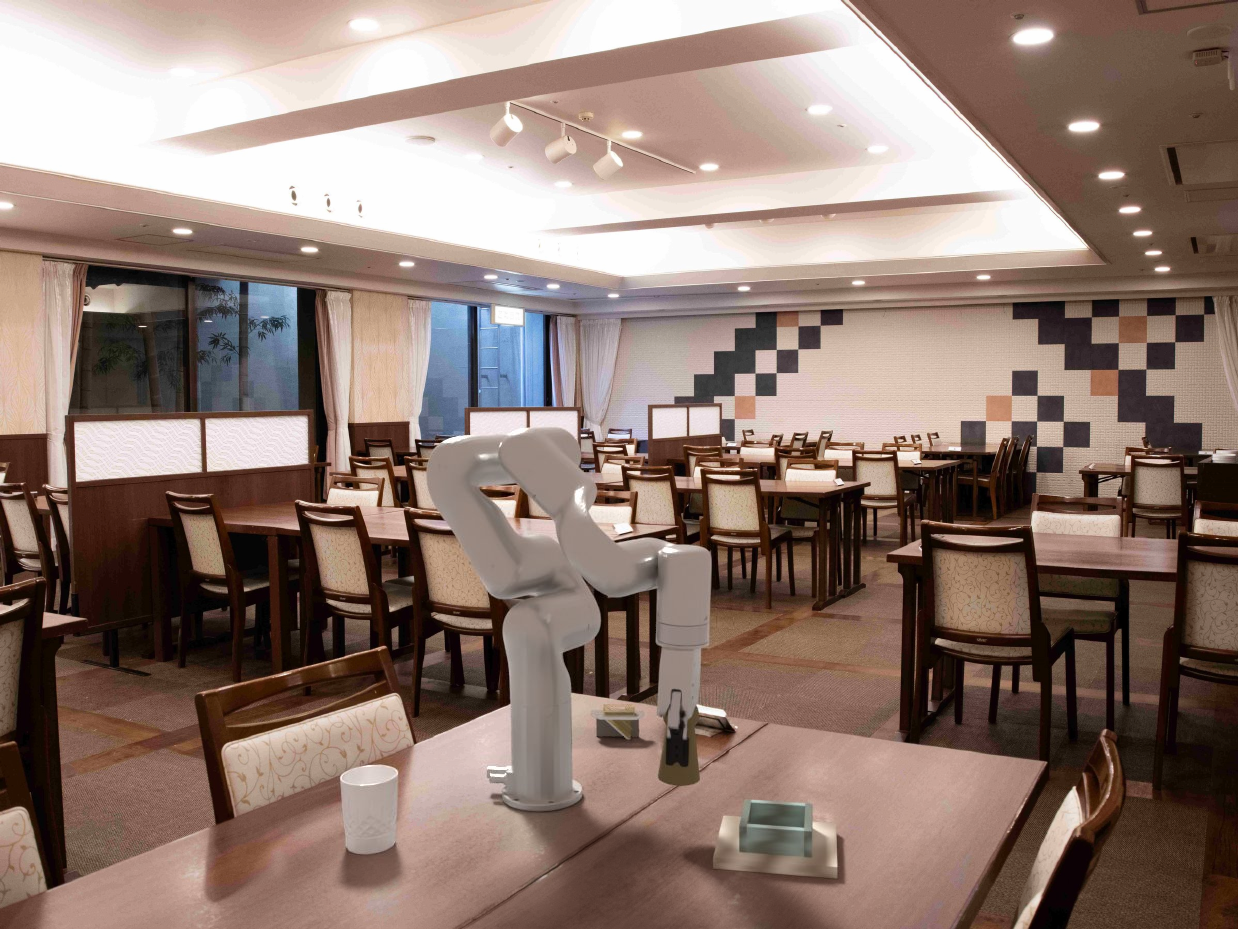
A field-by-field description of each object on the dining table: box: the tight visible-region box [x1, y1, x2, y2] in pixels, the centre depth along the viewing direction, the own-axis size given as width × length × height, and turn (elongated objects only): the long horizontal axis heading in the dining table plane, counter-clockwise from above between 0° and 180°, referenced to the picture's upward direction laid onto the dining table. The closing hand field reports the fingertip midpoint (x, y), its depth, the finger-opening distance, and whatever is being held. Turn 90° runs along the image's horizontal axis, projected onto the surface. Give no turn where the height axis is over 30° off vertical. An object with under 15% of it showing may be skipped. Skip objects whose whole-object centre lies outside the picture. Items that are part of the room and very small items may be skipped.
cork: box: [657, 705, 701, 787], centre depth 143 cm, size 6×6×11 cm
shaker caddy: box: [712, 798, 838, 879], centre depth 137 cm, size 16×14×5 cm
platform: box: [590, 703, 645, 740], centre depth 186 cm, size 12×18×7 cm, turn 86°
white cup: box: [339, 764, 399, 855], centre depth 141 cm, size 8×8×10 cm
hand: (679, 758), depth 143 cm, fingers closed on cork, 3 cm apart
